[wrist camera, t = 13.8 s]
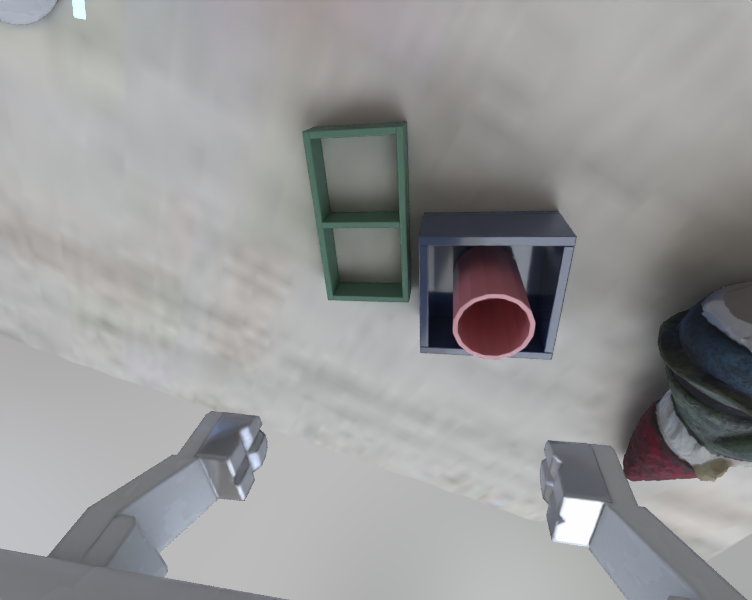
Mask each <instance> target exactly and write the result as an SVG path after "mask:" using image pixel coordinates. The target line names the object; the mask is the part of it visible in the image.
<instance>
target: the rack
mask: <svg viewBox="0 0 752 600" xmlns="http://www.w3.org/2000/svg"><path fill="white" fill-rule="evenodd" d="M302 133H303V140H304V146H305V153H306V159H307V166H308V172H309V179H310V185H311V192H312V198H313V205H314V211H315V218H316V224H317V231H318V237H319V244H320V251H321V257H322V264H323V270H324V277H325V283H326V290H327V296H328V300H341V301H377V302H409V298H410V293H411V251H410V213H409V176H408V138H407V122H392V123H374V124H357V125H339V126H321V127H312V128H310V129H308V130H305V131H303V132H302ZM395 134H396V141H397V166H398V191H399V211H398V212H331V213H330V205H329V198H328V190H327V183H326V175H325V167H324V160H323V152H322V145H321V138H337V137H357V136H376V135H395ZM333 228H400V240H401V265H402V283H351V282H340V281H339V273H338V266H337V258H336V251H335V243H334V236H333Z"/></svg>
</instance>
